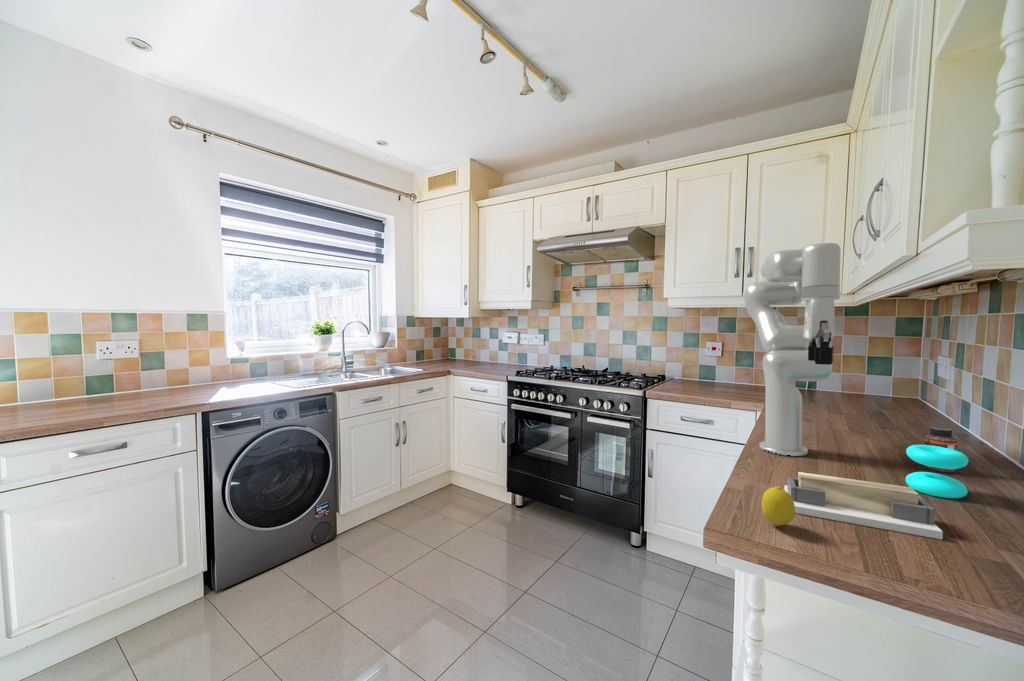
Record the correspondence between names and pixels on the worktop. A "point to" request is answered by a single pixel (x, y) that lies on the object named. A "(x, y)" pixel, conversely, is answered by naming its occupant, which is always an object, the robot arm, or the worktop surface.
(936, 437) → the supplement bottle
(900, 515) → the end caps
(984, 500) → the worktop surface
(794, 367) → the robot arm
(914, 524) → the board
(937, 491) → the donuts
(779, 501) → the lemon
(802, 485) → the slat
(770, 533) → the worktop surface
